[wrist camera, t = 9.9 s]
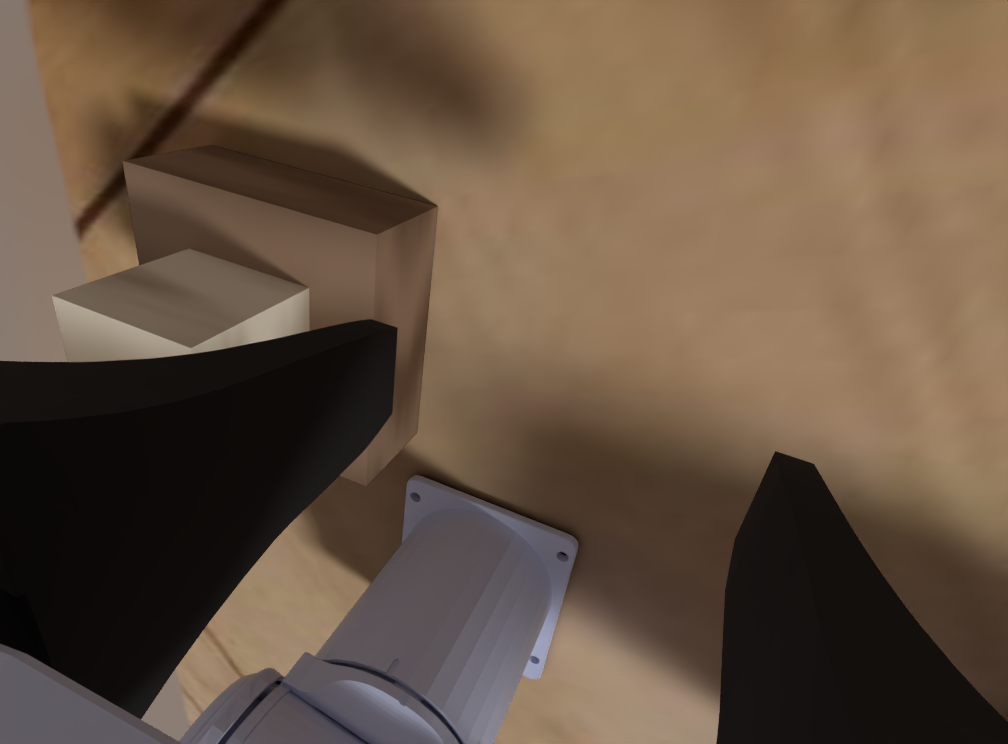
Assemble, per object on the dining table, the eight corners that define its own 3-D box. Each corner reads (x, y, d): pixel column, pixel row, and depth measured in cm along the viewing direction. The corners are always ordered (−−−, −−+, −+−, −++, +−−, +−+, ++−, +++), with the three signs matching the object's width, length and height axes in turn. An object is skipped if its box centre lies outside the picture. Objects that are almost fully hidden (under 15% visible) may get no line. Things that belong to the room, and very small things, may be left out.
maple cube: (310, 411, 23) (208, 490, 19) (202, 369, 25) (85, 435, 20) (309, 288, 21) (190, 348, 17) (189, 248, 22) (51, 295, 18)
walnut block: (416, 433, 27) (365, 486, 24) (230, 363, 30) (161, 402, 27) (437, 206, 22) (377, 234, 19) (211, 145, 25) (122, 160, 21)
